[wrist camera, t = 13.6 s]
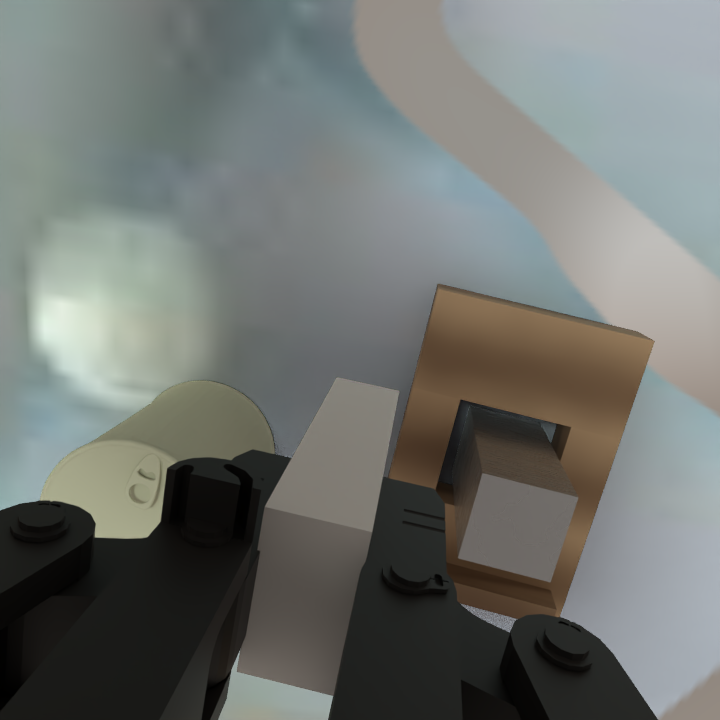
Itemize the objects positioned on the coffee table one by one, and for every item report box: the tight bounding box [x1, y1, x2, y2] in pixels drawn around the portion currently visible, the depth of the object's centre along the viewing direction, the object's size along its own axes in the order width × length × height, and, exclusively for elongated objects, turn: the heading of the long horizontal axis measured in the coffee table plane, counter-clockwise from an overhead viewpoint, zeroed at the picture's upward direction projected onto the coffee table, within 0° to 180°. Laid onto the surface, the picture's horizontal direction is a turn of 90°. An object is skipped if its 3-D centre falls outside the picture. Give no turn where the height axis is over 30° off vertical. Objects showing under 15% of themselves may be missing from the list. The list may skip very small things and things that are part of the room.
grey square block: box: [452, 405, 579, 582], centre depth 35 cm, size 4×4×11 cm
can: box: [40, 380, 275, 539], centre depth 37 cm, size 9×9×12 cm
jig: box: [388, 284, 654, 619], centre depth 38 cm, size 18×12×5 cm, turn 167°
